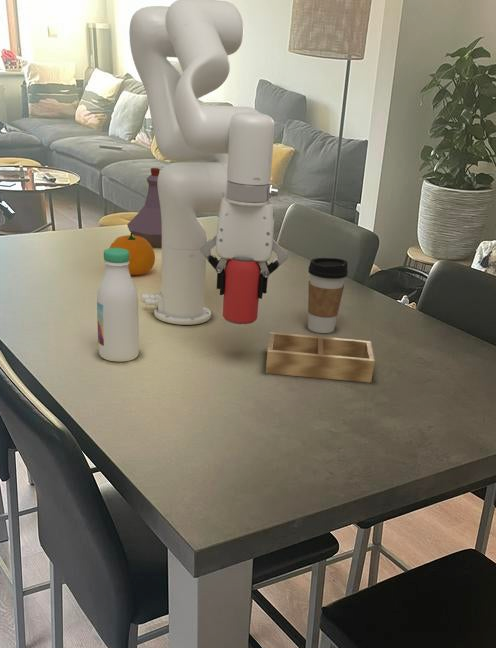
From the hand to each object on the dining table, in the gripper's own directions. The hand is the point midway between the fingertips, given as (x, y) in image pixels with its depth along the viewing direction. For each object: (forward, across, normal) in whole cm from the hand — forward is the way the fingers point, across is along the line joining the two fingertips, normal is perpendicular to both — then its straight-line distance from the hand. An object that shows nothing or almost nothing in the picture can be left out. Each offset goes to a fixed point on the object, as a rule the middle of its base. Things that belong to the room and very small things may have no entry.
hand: (241, 294), depth 144 cm
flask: (+14, +30, -85) cm, 91 cm away
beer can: (+5, 0, 0) cm, 5 cm away
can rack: (+14, -16, -2) cm, 21 cm away
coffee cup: (+14, -17, -25) cm, 33 cm away
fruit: (+14, +31, -55) cm, 65 cm away
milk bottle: (+14, +23, +1) cm, 27 cm away
